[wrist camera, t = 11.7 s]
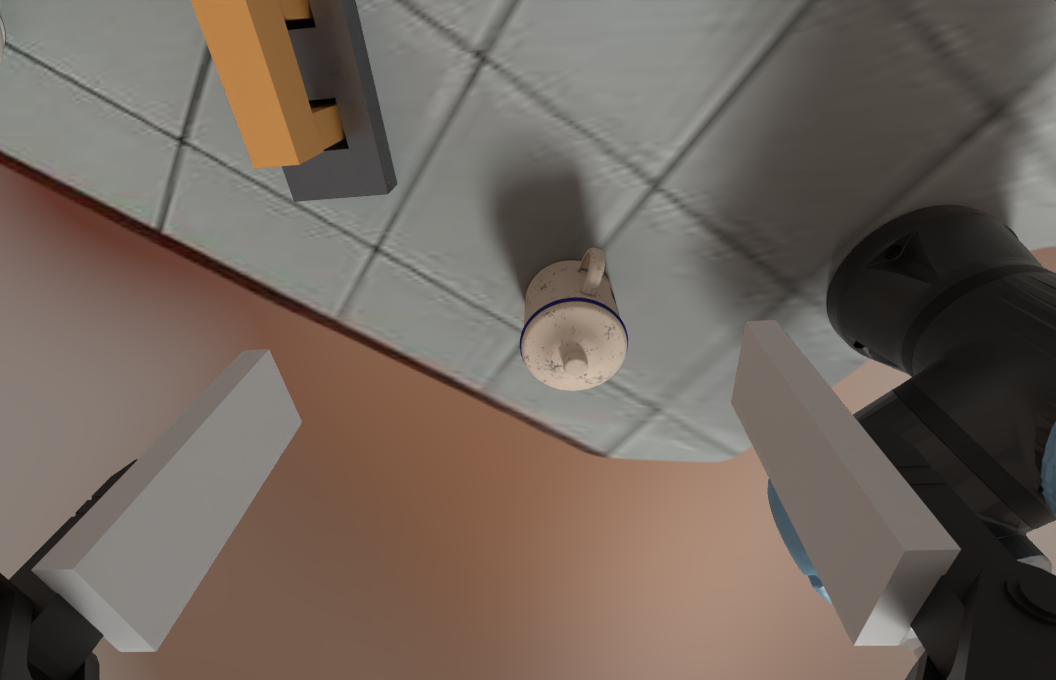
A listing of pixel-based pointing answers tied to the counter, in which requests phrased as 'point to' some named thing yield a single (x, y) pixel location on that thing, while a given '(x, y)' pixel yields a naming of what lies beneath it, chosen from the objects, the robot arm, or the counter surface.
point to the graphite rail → (341, 108)
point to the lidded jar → (2, 39)
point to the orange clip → (267, 79)
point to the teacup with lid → (573, 325)
